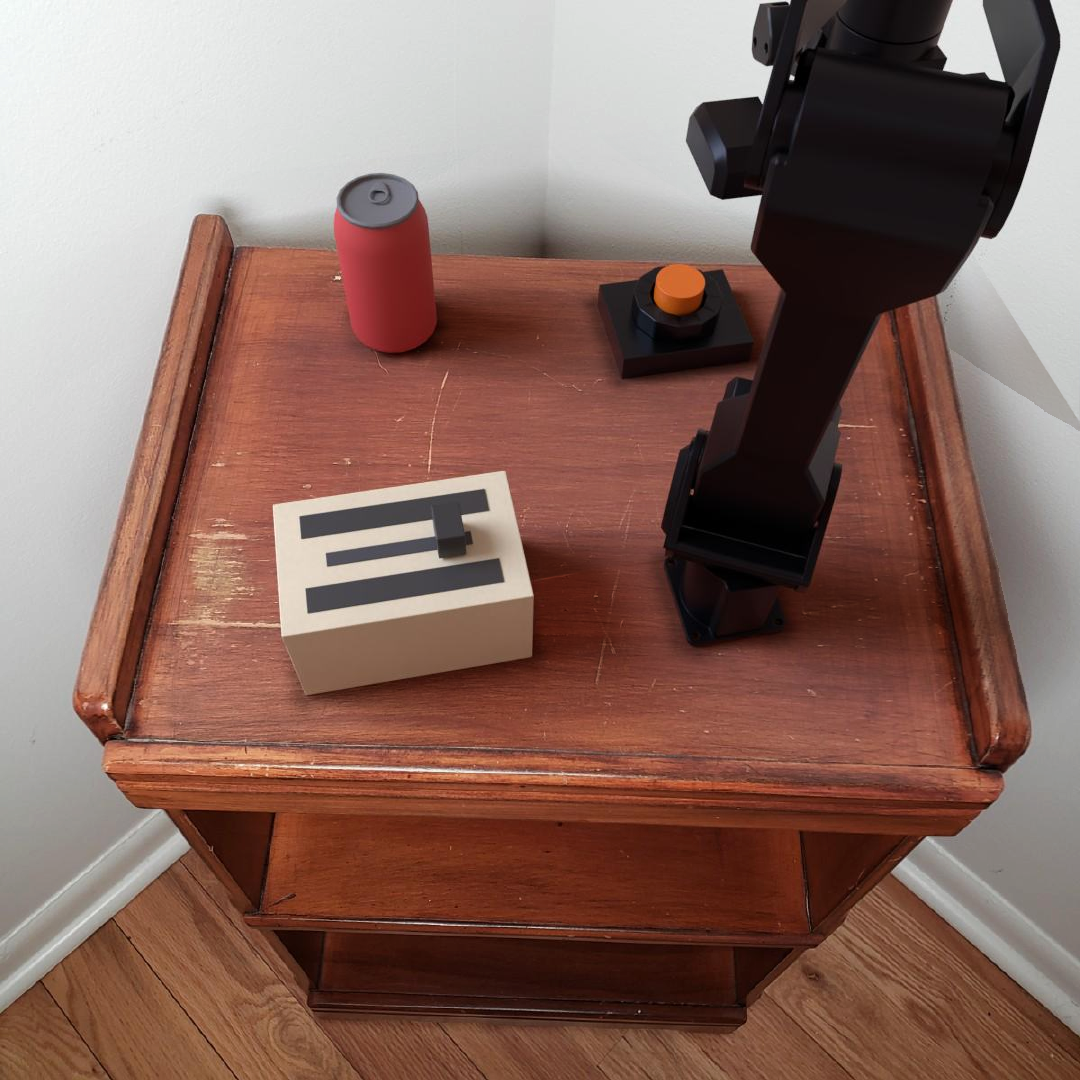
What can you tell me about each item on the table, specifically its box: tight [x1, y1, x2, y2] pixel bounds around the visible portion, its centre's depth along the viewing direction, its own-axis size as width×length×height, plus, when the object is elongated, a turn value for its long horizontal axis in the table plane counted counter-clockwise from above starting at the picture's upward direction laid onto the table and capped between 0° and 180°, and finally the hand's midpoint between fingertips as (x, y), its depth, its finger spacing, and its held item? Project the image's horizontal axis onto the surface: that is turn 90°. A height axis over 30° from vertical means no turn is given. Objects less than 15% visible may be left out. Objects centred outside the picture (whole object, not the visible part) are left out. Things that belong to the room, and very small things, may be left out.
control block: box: [597, 264, 755, 380], centre depth 77 cm, size 8×10×4 cm
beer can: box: [333, 172, 438, 354], centre depth 74 cm, size 7×7×12 cm
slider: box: [431, 502, 466, 558], centre depth 58 cm, size 2×2×2 cm
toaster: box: [272, 470, 535, 696], centre depth 62 cm, size 9×14×8 cm, turn 101°
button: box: [654, 263, 705, 315], centre depth 75 cm, size 4×4×2 cm
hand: (816, 247), depth 67 cm, fingers closed
